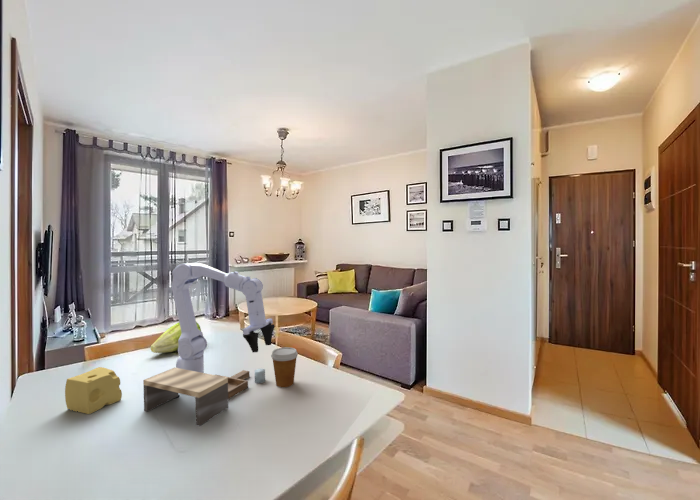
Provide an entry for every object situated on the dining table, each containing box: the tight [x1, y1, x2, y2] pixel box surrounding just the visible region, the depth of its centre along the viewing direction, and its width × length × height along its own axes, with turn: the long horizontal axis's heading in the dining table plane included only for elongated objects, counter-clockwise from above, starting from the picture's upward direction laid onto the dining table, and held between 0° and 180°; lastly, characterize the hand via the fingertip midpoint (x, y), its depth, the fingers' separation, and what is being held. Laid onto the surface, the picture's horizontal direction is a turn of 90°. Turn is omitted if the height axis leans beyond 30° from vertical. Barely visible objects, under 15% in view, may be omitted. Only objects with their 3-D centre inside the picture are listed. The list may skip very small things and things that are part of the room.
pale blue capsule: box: [254, 368, 266, 384], centre depth 122 cm, size 4×4×4 cm
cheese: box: [64, 366, 123, 415], centre depth 105 cm, size 10×11×10 cm
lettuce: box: [150, 321, 202, 354], centre depth 159 cm, size 15×24×14 cm, turn 153°
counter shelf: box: [143, 367, 229, 427], centre depth 102 cm, size 23×11×10 cm, turn 67°
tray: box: [216, 369, 250, 400], centre depth 119 cm, size 15×18×2 cm
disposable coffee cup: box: [270, 346, 298, 388], centre depth 120 cm, size 10×10×12 cm
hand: (262, 348), depth 120 cm, fingers open, 7 cm apart
